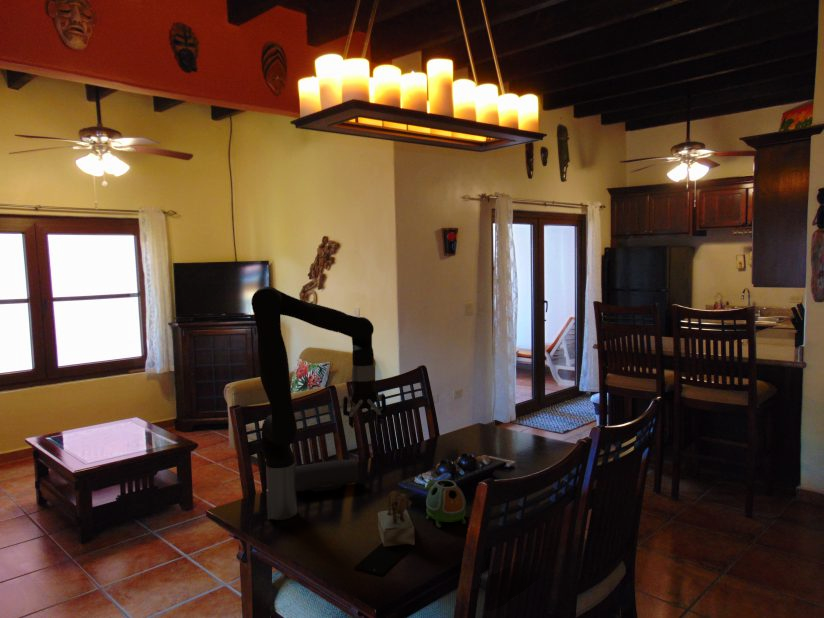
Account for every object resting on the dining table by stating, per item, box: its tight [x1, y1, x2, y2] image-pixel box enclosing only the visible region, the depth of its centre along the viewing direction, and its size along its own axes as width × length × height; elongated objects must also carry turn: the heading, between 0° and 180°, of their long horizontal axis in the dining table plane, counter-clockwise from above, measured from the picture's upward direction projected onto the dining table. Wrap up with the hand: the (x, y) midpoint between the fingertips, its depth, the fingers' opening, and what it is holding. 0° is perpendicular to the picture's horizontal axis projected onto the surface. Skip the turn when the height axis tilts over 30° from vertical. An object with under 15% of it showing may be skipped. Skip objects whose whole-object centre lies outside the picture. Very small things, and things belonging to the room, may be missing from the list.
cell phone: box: [354, 541, 413, 577], centre depth 162 cm, size 9×18×1 cm, turn 153°
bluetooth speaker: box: [295, 459, 359, 493], centre depth 213 cm, size 23×9×10 cm, turn 108°
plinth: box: [377, 509, 416, 547], centre depth 175 cm, size 9×13×6 cm
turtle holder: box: [425, 479, 467, 528], centre depth 187 cm, size 12×18×12 cm
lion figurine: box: [387, 490, 413, 523], centre depth 175 cm, size 15×5×9 cm, turn 23°
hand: (365, 426), depth 193 cm, fingers open, 8 cm apart
